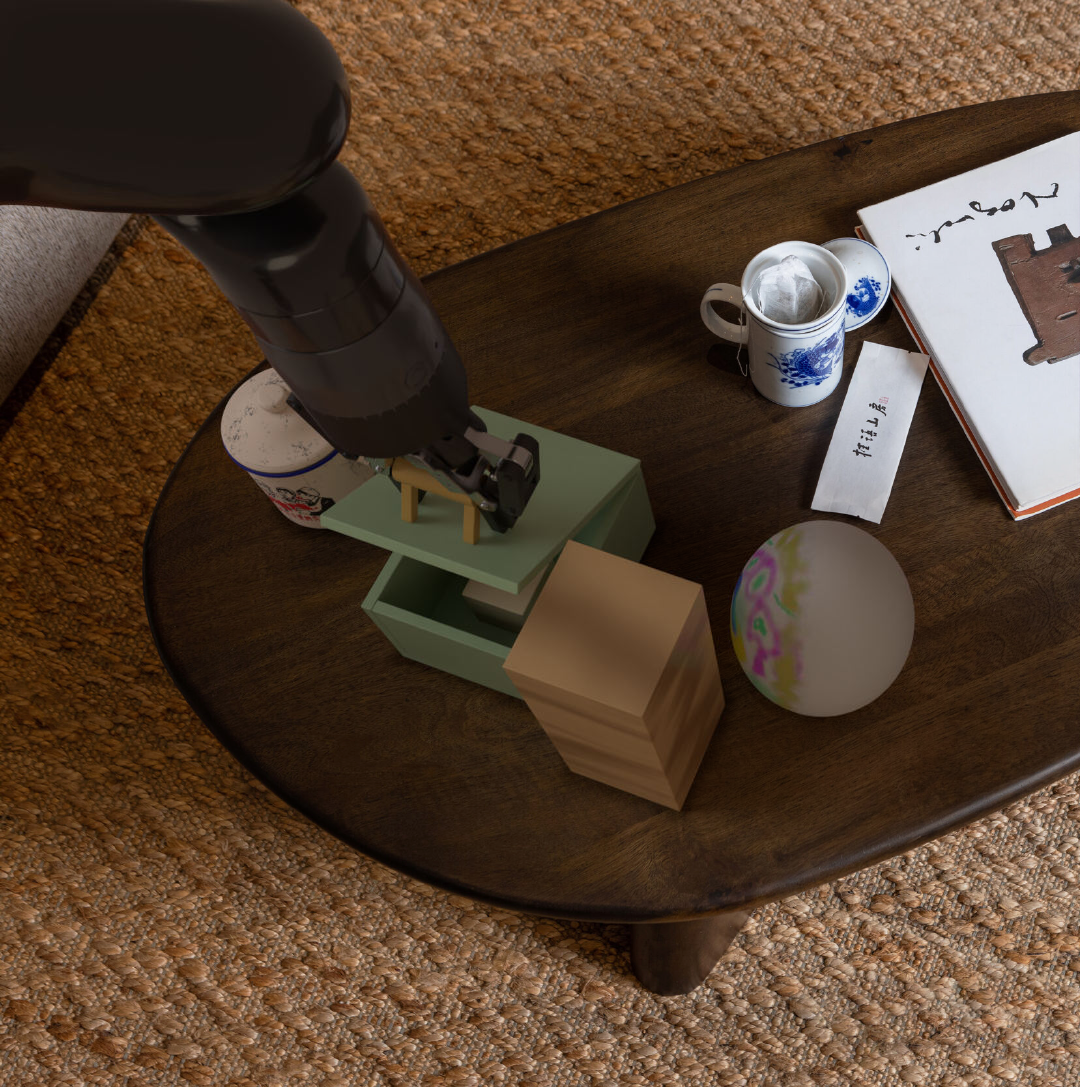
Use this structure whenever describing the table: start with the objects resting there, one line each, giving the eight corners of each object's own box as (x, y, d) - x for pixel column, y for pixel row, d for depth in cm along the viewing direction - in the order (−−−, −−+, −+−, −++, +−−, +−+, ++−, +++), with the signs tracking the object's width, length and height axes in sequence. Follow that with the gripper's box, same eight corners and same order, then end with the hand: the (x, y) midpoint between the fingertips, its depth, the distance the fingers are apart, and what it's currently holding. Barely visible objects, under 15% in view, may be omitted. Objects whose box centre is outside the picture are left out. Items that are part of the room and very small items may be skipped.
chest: (565, 715, 81) (538, 671, 73) (402, 656, 83) (359, 606, 75) (656, 527, 88) (641, 468, 80) (504, 476, 90) (474, 412, 82)
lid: (517, 595, 66) (522, 516, 63) (320, 526, 68) (316, 445, 65) (640, 469, 80) (648, 399, 77) (473, 414, 82) (475, 343, 79)
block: (537, 641, 83) (522, 615, 79) (478, 620, 83) (460, 594, 79) (565, 585, 85) (552, 557, 81) (507, 565, 85) (491, 537, 81)
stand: (680, 812, 78) (642, 717, 61) (570, 771, 80) (501, 666, 62) (725, 704, 82) (702, 584, 64) (620, 666, 83) (568, 538, 65)
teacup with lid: (247, 511, 88) (172, 427, 77) (312, 414, 92) (249, 322, 81) (390, 562, 86) (333, 484, 76) (450, 462, 90) (403, 374, 80)
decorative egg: (738, 573, 86) (726, 470, 73) (905, 575, 87) (923, 473, 73) (731, 735, 81) (716, 656, 67) (909, 737, 81) (929, 658, 68)
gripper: (535, 325, 55) (599, 488, 71) (269, 240, 57) (388, 416, 73) (462, 458, 52) (545, 597, 68) (183, 363, 54) (326, 520, 70)
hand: (463, 503), depth 70 cm, fingers closed on lid, 5 cm apart
